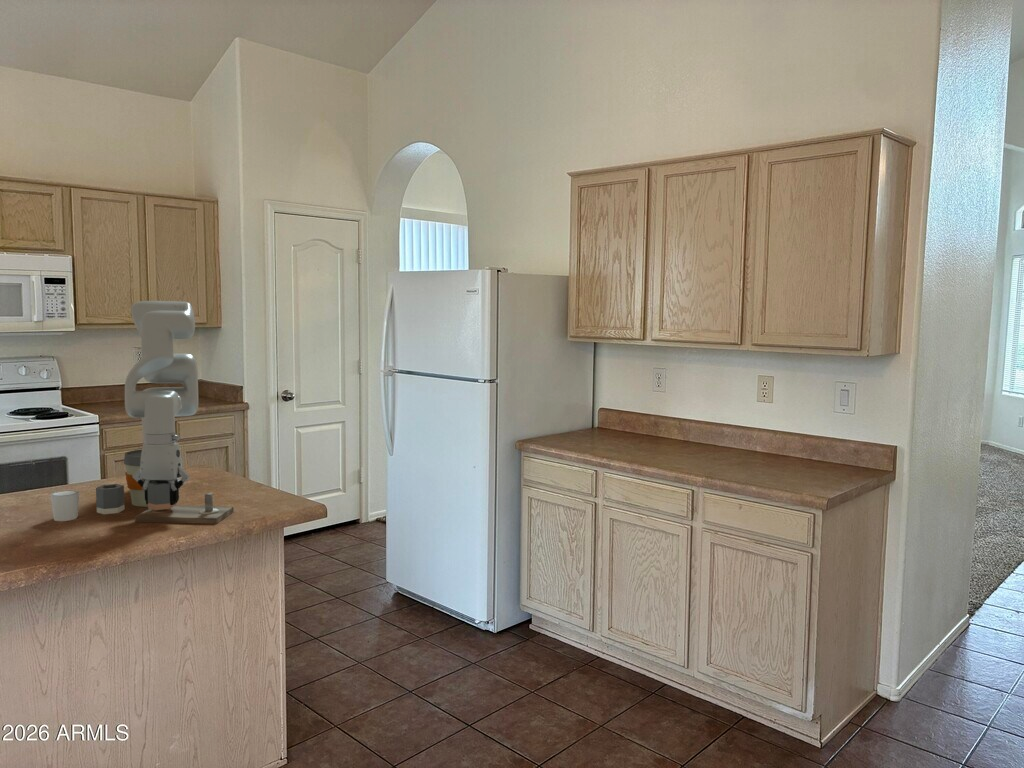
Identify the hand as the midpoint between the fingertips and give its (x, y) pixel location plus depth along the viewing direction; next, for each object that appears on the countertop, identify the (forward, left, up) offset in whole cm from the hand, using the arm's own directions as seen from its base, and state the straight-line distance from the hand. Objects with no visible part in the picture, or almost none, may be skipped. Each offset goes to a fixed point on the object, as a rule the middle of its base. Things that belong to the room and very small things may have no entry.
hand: (161, 502), depth 211 cm
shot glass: (+4, -24, -4) cm, 25 cm away
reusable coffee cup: (-14, -10, -4) cm, 18 cm away
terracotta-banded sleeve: (0, 0, -1) cm, 1 cm away
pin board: (0, +7, -4) cm, 8 cm away
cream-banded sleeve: (-4, -16, -4) cm, 17 cm away
